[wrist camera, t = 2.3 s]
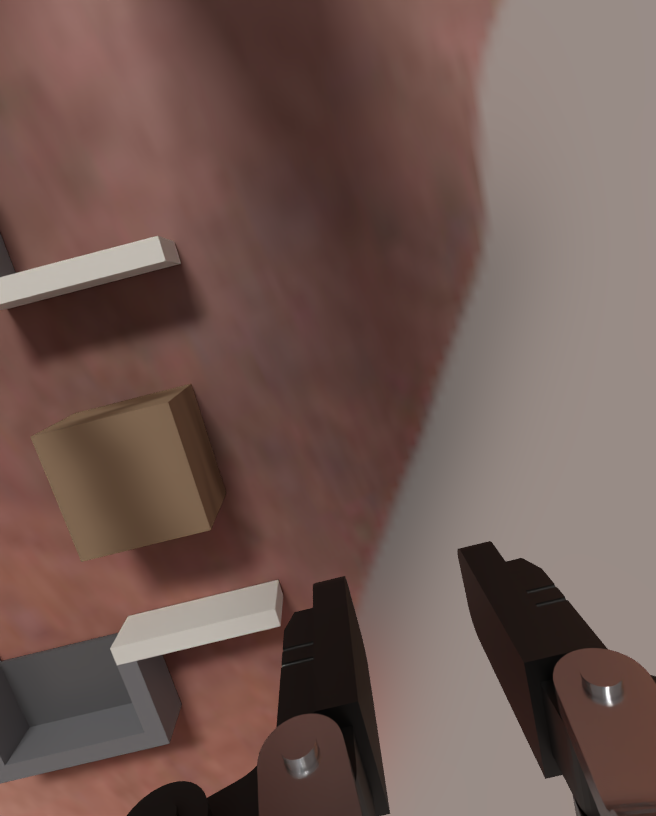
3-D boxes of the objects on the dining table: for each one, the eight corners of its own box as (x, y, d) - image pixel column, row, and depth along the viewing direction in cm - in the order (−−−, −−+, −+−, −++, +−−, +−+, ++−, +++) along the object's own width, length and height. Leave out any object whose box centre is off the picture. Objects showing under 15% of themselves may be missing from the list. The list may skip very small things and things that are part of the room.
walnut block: (192, 383, 29) (168, 402, 25) (226, 492, 31) (210, 529, 26) (76, 412, 30) (30, 437, 25) (117, 519, 31) (81, 561, 26)
